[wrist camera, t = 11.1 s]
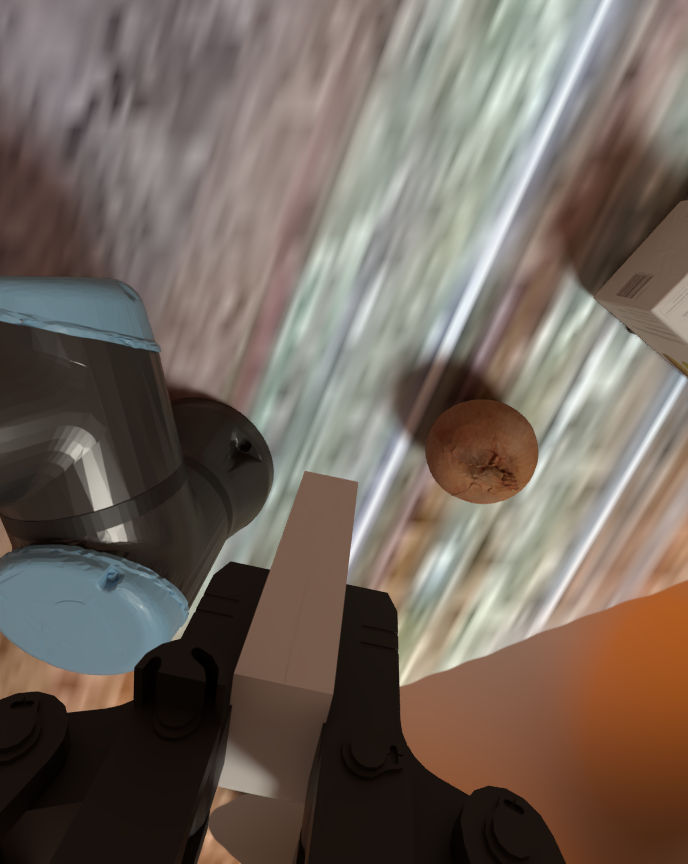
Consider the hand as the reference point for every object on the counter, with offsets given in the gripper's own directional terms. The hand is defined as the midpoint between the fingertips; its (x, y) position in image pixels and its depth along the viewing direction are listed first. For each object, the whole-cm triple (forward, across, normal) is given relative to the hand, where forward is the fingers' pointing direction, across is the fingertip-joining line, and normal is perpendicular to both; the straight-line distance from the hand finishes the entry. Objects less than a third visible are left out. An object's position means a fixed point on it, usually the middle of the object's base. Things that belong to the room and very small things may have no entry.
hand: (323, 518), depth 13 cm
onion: (+33, -12, +8) cm, 36 cm away
